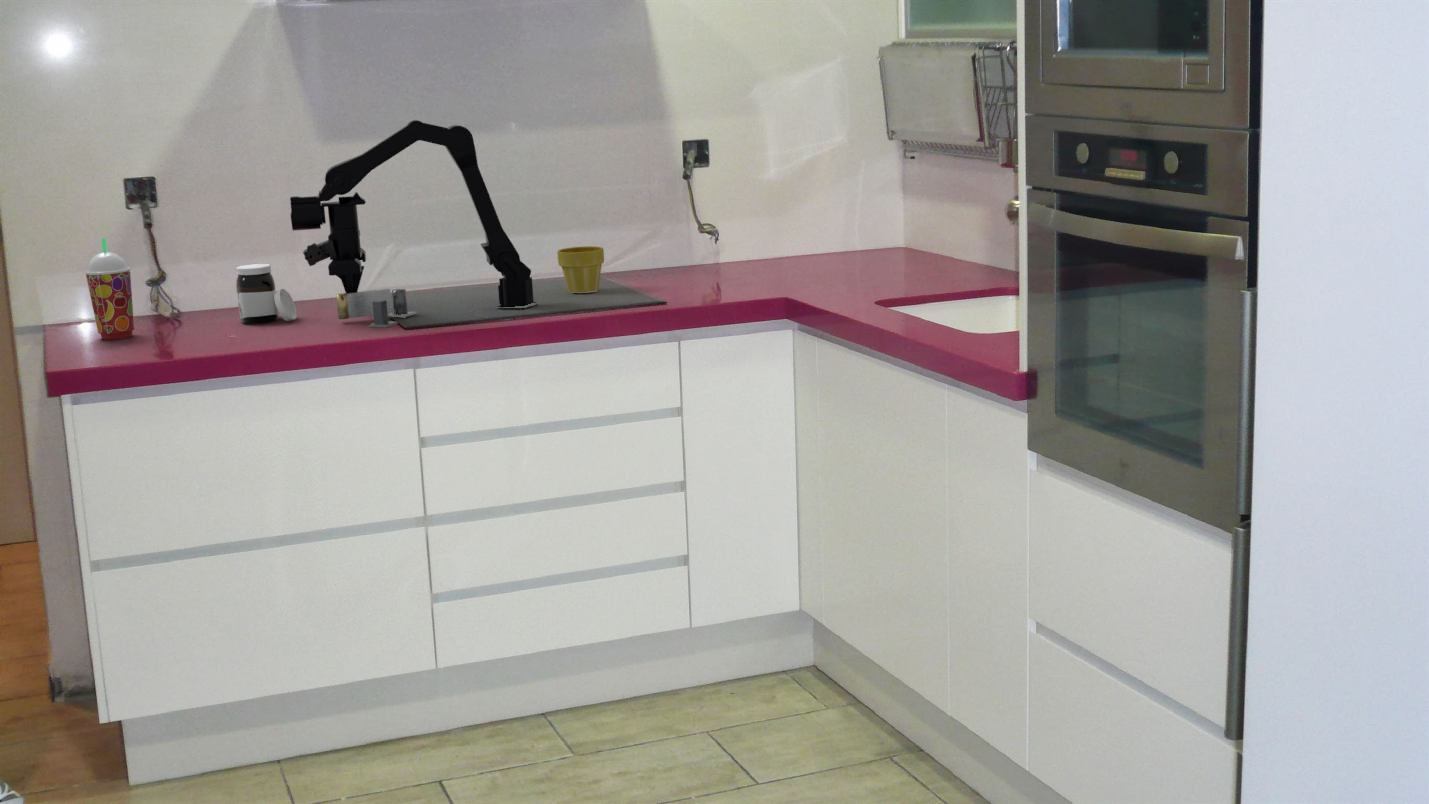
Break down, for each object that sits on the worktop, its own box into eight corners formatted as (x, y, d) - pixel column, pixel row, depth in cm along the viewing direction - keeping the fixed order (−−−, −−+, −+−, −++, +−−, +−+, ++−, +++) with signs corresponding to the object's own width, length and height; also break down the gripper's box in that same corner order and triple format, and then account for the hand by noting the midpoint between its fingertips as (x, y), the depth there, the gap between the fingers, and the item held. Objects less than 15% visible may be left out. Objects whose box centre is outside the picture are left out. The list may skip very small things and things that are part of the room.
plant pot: (551, 295, 315) (548, 251, 313) (573, 288, 325) (570, 245, 322) (593, 296, 312) (590, 252, 309) (613, 289, 321) (611, 246, 319)
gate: (389, 311, 296) (387, 288, 295) (392, 313, 294) (390, 289, 293) (337, 318, 291) (334, 294, 290) (340, 319, 289) (337, 295, 288)
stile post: (397, 324, 287) (395, 299, 286) (386, 327, 283) (384, 303, 282) (381, 323, 288) (378, 299, 287) (369, 327, 285) (367, 302, 284)
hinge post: (417, 314, 298) (415, 288, 296) (404, 318, 293) (402, 292, 292) (397, 313, 300) (395, 287, 298) (384, 317, 295) (381, 291, 294)
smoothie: (102, 334, 288) (88, 236, 284) (144, 332, 289) (131, 234, 284) (88, 342, 280) (74, 241, 275) (131, 340, 281) (118, 239, 276)
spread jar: (238, 319, 300) (231, 265, 298) (293, 314, 304) (287, 260, 302) (243, 328, 289) (237, 271, 287) (300, 322, 294) (294, 266, 291)
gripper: (308, 223, 297) (316, 296, 301) (298, 235, 279) (307, 313, 283) (362, 220, 298) (369, 293, 302) (356, 232, 281) (364, 309, 285)
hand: (351, 302), depth 293 cm, fingers closed
